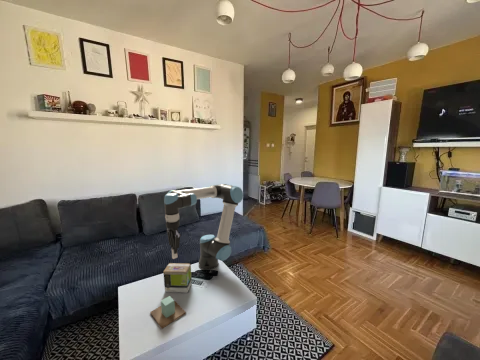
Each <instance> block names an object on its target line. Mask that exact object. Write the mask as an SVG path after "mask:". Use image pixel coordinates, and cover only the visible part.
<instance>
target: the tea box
mask: <svg viewBox="0 0 480 360" xmlns="http://www.w3.org/2000/svg"><path fill="white" fill-rule="evenodd" d="M191 282H193V281H192V265H191V263H187V262H185V263H182V262H179V263H178V262H177V263H173V262H169V263H168V264H167V265H166V267H165V269H164V270H163V285H164V286H163V287H164V292H165V293H184V294H185V293H189V290H190V288H191V285H192V283H191Z"/></svg>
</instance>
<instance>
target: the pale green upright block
mask: <svg viewBox="0 0 480 360" xmlns="http://www.w3.org/2000/svg"><path fill="white" fill-rule="evenodd" d="M173 299H174V298H172V296H170V295H169V296H167V297H164V298H163V299H161V300H160V306H161V310H162V314H163V315H164V316H165V317H166V318H167V317H169V316H170V315H172V314H174V313H175V303H174V300H175V299H174V300H173Z"/></svg>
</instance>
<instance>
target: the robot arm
mask: <svg viewBox="0 0 480 360" xmlns="http://www.w3.org/2000/svg"><path fill="white" fill-rule="evenodd" d="M207 198H212V199H220V200H221V199H222V203H223V207H222V212H221V217H220V220H219V226H218V231H217V235H216V236H215V235H214V234H206V235H205V234H204V235H202V236H201V238H200V239H199V249H200V252H199V253H200V257H199V260H198V267H199V268H200V269H202V270H206V269H208V270H213V269H214V268H216V267H218V265H219V261H220V262H221V261H223V262H224V261H227V259H228V258H229V257H230V256H231V254H232V249H233V248H232V247H231V245H230V243H231V241H230V234H231V229H232V224H233V219H234V216H235V210H236V207H237V206H239V204H240V203H241V202H242V200H243V199H244V191H243V190H242V188H241V187H240V186H237V185H232V184H227V183H222V184H221V183H220V184H213V185H210V186H209V187H207V186H206V187H198V188H190V189H181V190H180V189H179V190H176V189H175V190H174V189H170V190H168V192H167V193H166V194H165V195H164V199H163V201H164V202H163V203H164V214H165V215H164V218H165V227H166V229H165V231H166V234H167V239H168V244H169V246H170V248H171V258H172V259H173V260H175V259H177V258H178V249H179V248H180V242H181V236H182V235H181V233H179V229H178V228H179V227H180V209H183V208H187V207H192V206H194V205H197V202H198V200H201V199H207Z"/></svg>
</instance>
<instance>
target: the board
mask: <svg viewBox="0 0 480 360" xmlns="http://www.w3.org/2000/svg"><path fill="white" fill-rule="evenodd" d="M172 299H173V300H174V303H175V313H174V314H172V315H170V316H169V317H167V318H166V317H165V316H164V315H163V314H162V310H161V305H160V306H158V307H157V308H155V309H153V310H152V311H150V315H151V316H152V317H153V319H154V321H155V322H156V323H157V325H158V326H159V327H160V329H161V330H162V329H164V328H166V327H167V326H169V325H170V324H172V323H173V322H175V321H176V320H178V319H179V318H181V317H183V316H184V315H186V314H187V311H186V310H185V309H183V307H182V306H181V305H180V304H179V303H178V302H177V301H176V300H175V299H174V298H172Z"/></svg>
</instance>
